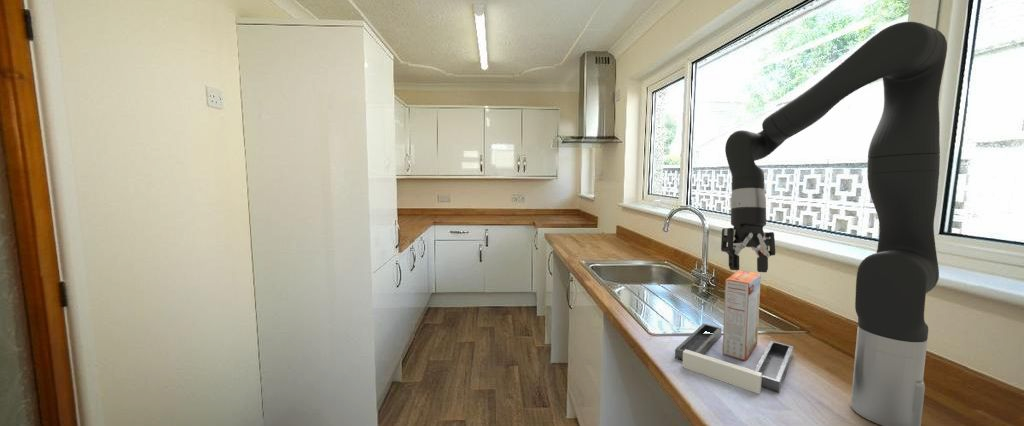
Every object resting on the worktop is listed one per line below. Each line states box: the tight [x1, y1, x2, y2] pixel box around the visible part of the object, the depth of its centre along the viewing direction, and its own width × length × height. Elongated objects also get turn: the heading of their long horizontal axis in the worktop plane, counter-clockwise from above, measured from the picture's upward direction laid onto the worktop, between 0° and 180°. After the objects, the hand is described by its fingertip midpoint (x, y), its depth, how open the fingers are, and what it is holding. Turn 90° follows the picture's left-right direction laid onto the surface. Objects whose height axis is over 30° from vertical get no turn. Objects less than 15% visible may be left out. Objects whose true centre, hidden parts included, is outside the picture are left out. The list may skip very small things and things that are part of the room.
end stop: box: [681, 349, 762, 395], centre depth 83 cm, size 16×2×4 cm, turn 46°
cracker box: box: [722, 270, 762, 362], centre depth 97 cm, size 14×6×21 cm, turn 135°
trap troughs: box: [674, 323, 794, 393], centre depth 93 cm, size 22×24×2 cm
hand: (748, 271), depth 89 cm, fingers open, 8 cm apart
